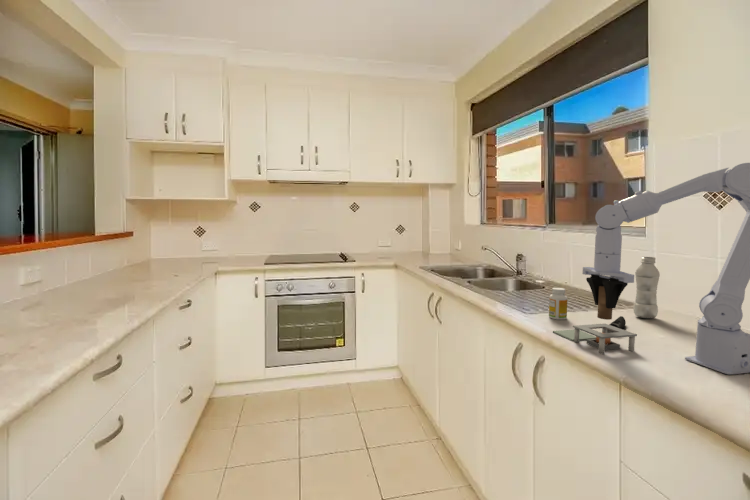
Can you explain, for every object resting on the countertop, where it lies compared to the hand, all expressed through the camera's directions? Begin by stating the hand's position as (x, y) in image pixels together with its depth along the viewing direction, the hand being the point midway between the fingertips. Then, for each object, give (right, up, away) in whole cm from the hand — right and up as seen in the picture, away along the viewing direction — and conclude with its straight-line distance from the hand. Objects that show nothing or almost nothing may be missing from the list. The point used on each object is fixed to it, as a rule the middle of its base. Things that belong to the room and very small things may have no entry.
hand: (604, 306), depth 99 cm
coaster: (-3, -10, +9) cm, 14 cm away
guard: (0, -10, +1) cm, 10 cm away
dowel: (0, -3, 0) cm, 3 cm away
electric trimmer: (+12, -10, +15) cm, 22 cm away
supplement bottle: (+1, -8, +29) cm, 30 cm away
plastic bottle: (+30, -8, +28) cm, 42 cm away
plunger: (0, -10, +1) cm, 10 cm away
